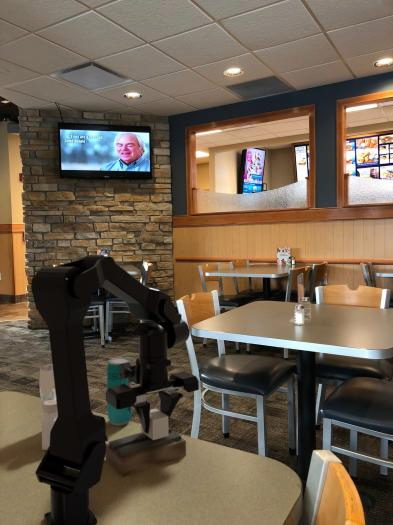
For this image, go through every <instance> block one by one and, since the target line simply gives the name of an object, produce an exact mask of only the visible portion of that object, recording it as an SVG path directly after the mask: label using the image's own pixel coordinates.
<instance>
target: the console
mask: <svg viewBox="0 0 393 525" xmlns="http://www.w3.org/2000/svg"><path fill="white" fill-rule="evenodd" d="M168 435H169V436H166V437H163V438H159V439H156V440H152V439H151V438H149V437H148V436H147V435H146V434H144V433H143V432H142V431H141V432H138V433H133V434H131V435H128V436H124V437H120V438H117V439H113V440H110V441H109V443H106V453H105V459H104V460H106V461H107V462H108V464H109V465H110V466H111V467H112V468H113V469H114V470H115V471H116V472H117V473H118V474H119V475H120V476H121V477H122V478H123V477H125V476H129V475H132V474H134V473H135V474H136V473H137V472H140V471H143V470H147V469H150V468H153V467H155V466H159V465H161V464H164V463H167V462H170V461H173V460H176V459H179V458H181V457H185V456H186V455H187V441H186V439H184V438H183V437H182V435H181V434H179V433H178V432H176V431H173V430H172V428H170V427H169V426H168Z"/></svg>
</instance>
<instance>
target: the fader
mask: <svg viewBox="0 0 393 525" xmlns="http://www.w3.org/2000/svg"><path fill="white" fill-rule="evenodd" d="M140 425H141V424H140ZM168 427H169V421H168V416H167V415H166V414H164V413H162V412H161V411H160V410H159V409H158V408H153V409H152V408H151V409H150V423H149V432H148V433H145V432H144V430H143V427H142V425H141V427H140V430H141V432H143V433H144V434H146V435H147V436H148V437H149V438H151V439H152V440H156V439H159V438H163V437H166V436H169V435H168Z"/></svg>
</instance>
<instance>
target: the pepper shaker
mask: <svg viewBox="0 0 393 525" xmlns="http://www.w3.org/2000/svg"><path fill="white" fill-rule="evenodd" d="M42 410H43V416H42V417H41V449H42V450H43V451H47V449H48V448H49V446H50V431H51V429H52V427H53V425H54V423H55V421H56V419H57V417H58V411H57V402H56V400H48V401H46V402H44V403H43V406H42Z"/></svg>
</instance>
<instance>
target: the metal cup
mask: <svg viewBox="0 0 393 525" xmlns="http://www.w3.org/2000/svg"><path fill="white" fill-rule="evenodd" d="M38 382H39V387H38V388H39V395H40V401H41V406H42V407H43V403H44V402H46V401H48V400H56V393H55V383H54V374H53V365H52V363H48V364H45V365H42V366H40V368H39V381H38Z"/></svg>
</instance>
